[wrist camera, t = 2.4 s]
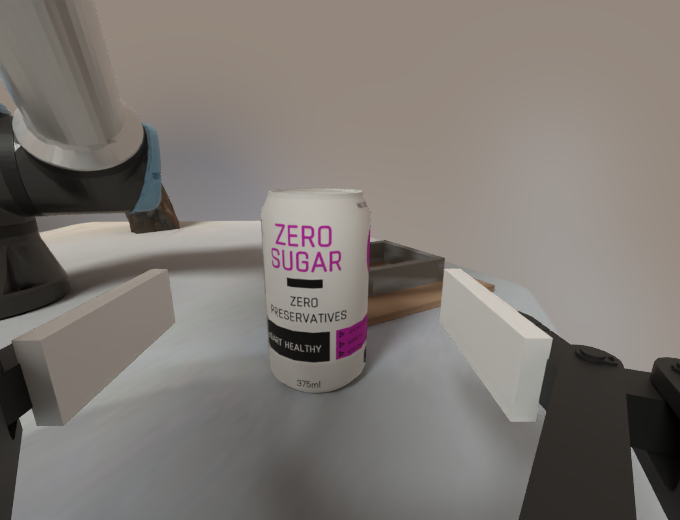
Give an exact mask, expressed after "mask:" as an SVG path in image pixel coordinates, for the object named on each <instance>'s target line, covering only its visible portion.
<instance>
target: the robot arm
mask: <svg viewBox="0 0 680 520" xmlns="http://www.w3.org/2000/svg"><path fill="white" fill-rule="evenodd" d="M0 80H1V82H2V83H3V85H4V86H5V88H6V90H7V91H8V93H9V94H10V96H11V98H12V99H13V101H14V102H15V104H16V106H17V109H16V111H15V113H14V116H11V113H10V112H9V111H8V110H7V108H6V107H5V106H4V105H3V104H1V103H0V319H1V318H5V317H9V316H13V315H17V314H20V313H23V312H27V311H30V310H33V309H36V308H39V307H41V306H44V305H46V304H49V303H51V302H53V301H56V300H58V299H59V298H61V297H63V296H64V295H66V294H67V293H68V292H69V291H70V285H69V281H68V276H67V274H66V272H65V270H64V269H63V268H62V266H61V265H60V263H59V262H58V261H57V259H56V258H55V257H54V255H53V254H52V252H51V251H50V250H49V248H48V247H47V246H46V244H45V243H44V241H43V240H42V239H41V237H40V234H39V231H38V227H37V223H36V218H35V216H57V215H81V214H109V213H126V214H133V213H135V212H142V211H151V210H154V209H156V208H157V207H158V206H159V204H160V201H161V175H160V174H161V160H160V148H159V140H158V135H157V131H156V129H155V128H154V127H152V126H150V125H146V124H145V123H141V121H140V119H139V117H138V115H137V114H136V112H135V111H134V110H133V109H132V108H131V107H130V106H129V105H128V104H126V103H125V102H124V101H122V100H121V99H120V96H119V92H118V88H117V85H116V81H115V77H114V73H113V70H112V66H111V62H110V59H109V55H108V51H107V48H106V44H105V40H104V37H103V33H102V29H101V26H100V22H99V18H98V15H97V11H96V7H95V3H94V0H0ZM439 322H440V323H441V324H442V326H443V327H444V329H445V330H446V332H447V333H448V334H449V336H450V337H451V339H452V340H453V341H454V343H455V344H456V346H457V347H458V348H459V350H460V351H461V353H462V354H463V355H464V357H465V358H466V360H467V361H468V363H469V364H470V365H471V367H472V368H473V370H474V371H475V372H476V374H477V375H478V377H479V378H480V379H481V381H482V382H483V384H484V385H485V386H486V388H487V389H488V391H489V392H490V394H491V395H492V396H493V398H494V399H495V401H496V402H497V403H498V405H499V406H500V408H501V409H502V410H503V412H504V413H505V415H506V416H507V417H508V419H509V420H510V422H536V420H537V415H538V410H539V405H540V404H541V406H542V407H543V408H544V409H545V410H546V411H547V412H546V416H545V420H544V424H543V428H542V432H541V435H540V439H539V443H538V447H537V451H536V455H535V459H534V462H533V466H532V470H531V474H530V478H529V482H528V486H527V489H526V493H525V497H524V501H523V505H522V509H521V513H520V516H519V520H637V519H636V508H635V496H634V484H633V472H632V460H631V448H630V447H632V448H633V450H634V452H635V454H636V456H637V458H638V460H639V462H640V464H641V466H642V468H643V470H644V472H645V474H646V476H647V478H648V480H649V482H650V484H651V486H652V488H653V490H654V492H655V494H656V496H657V498H658V500H659V502H660V504H661V506H662V508H663V510H664V512H665V514H666V516H667V518H668V520H680V359H676V358H668V357H665V358H658V359H657V360H656V361H655V362H654V365H653V369H652V372H651V373H649V372H643V371H636V370H631V369H625V368H624V366H623V364H622V362H621V361H620V360H619V359H617V358H616V357H615V356H613V355H611V354H609V353H607V352H605V351H602V350H599V349H596V348H593V347H589V346H584V345H571V344H569V343H568V342H566V341H565V340H564V339H562V338H561V337H559V336H558V335H557V334H555V333H554V332H552V331H550V329H548V328H547V327H546V326H544V325H542V324H541V323H540V322H539V321H537V320H536V319H534V318H533V317H531V316H529V315H527V314H524V313H522V312H520V311H516V310H514V309H513V308H512V307H510V306H509V305H508V304H506V303H505V302H504V301H502V300H501V299H500V298H498V297H497V296H496V295H494V294H493V293H492V292H490V291H489V290H488V289H487V288H485V287H484V286H483V285H481V284H480V283H479V282H477V281H476V280H475V279H473V278H472V277H471V276H469V275H468V274H467V273H465V272H464V271H463V270H461V269H444V278H443V288H442V299H441V309H440V320H439ZM174 323H175V316H174V309H173V302H172V295H171V288H170V281H169V275H168V269H150V270H148V271H146V272H145V273H143V274H141V275H139V276H137V277H135V278H133V279H131V280H129V281H127V282H125V283H123V284H121V285H119V286H117V287H115V288H113V289H111V290H109V291H107V292H105V293H104V294H102V295H100V296H98V297H96V298H94V299H92V300H90V301H88V302H86V303H84V304H82V305H80V306H78V307H76V308H74V309H72V310H70V311H68V312H66V313H64V314H63V315H61V316H59V317H57V318H55V319H53V320H51V321H49V322H47V323H45V324H43V325H41V326H39V327H37V328H35V329H33V330H31V331H29V332H27V333H25V334H23V335H22V336H20V337H18V338H16V339H14V340H12V344H10V345H8V346H7V347H5V348H3V349H1V350H0V520H11V515H12V507H13V499H14V492H15V484H16V476H17V468H18V461H19V453H20V445H21V437H22V430H23V429H22V426H21V423H20V420H19V417H21V416H22V415H23V414H25V413H26V412H27V411H29V410H30V409H31V408H32V411H33V414H34V417H35V421H36V424H37V426H64V425H65V424H66V423H67V422H68V421H69V420H70V419H71V418H72V417H74V416H75V415H76V414H77V413H78V412H79V411H80V410H81V409H82V408H83V407H84V406H85V405H87V404H88V403H89V402H90V401H91V400H92V399H93V398H94V397H95V396H96V395H97V394H98V393H100V392H101V391H102V390H103V389H104V388H105V387H106V386H107V385H108V384H109V383H110V382H111V381H112V380H114V379H115V378H116V377H117V376H118V375H119V374H120V373H121V372H122V371H123V370H124V369H125V368H127V367H128V366H129V365H130V364H131V363H132V362H133V361H134V360H135V359H136V358H137V357H138V356H140V355H141V354H142V353H143V352H144V351H145V350H146V349H147V348H148V347H149V346H150V345H151V344H153V343H154V342H155V341H156V340H157V339H158V338H159V337H160V336H161V335H162V334H163V333H164V332H166V331H167V330H168V329H169V328H170V327H171V326H172V325H173V324H174Z"/></svg>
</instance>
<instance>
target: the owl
mask: <svg viewBox="0 0 680 520" xmlns="http://www.w3.org/2000/svg"><path fill="white" fill-rule="evenodd" d="M125 214H126V213H125ZM126 217H127V218H128V220H129V223H130V228H131V231H132V232H134V233H136V234H140V233H148V232H156V231H164V230H172V229H179V228H180V227H179V221H178V219H177V217H176V214H175V212H174V209H173V206H172V204H171V202H170V199H169V197H168V195H167V193H166V191H165V189H164V187H163V185H162V183H161V201H160V204H159V206H158V207H157V208H156V209H154V210H151V211H142V212H135V213H133V214H126Z"/></svg>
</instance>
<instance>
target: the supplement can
mask: <svg viewBox="0 0 680 520" xmlns="http://www.w3.org/2000/svg"><path fill="white" fill-rule="evenodd" d="M370 222H371V212H370V210H369V208H368V206H367V204H366V202H365V200H364V198H363V191H360V190H351V189H324V188H299V189H276V190H270V191H268V197H267V199H266V202H265V204H264V206H263V208H262V210H261V228H262V245H263V262H264V279H265V295H266V312H267V329H268V346H269V362H270V367H271V371H272V373H273V375H274V376H275V377H276V378H277V379H278V380H279V381H280V382H282V383H285V384H286V385H287V386H289V387H291V388H293V389H296V390H298V391H302V392H309V393H322V392H331V391H333V390H336V389H339V388H342V387H344V386H346V385H347V384H348V383H350V382H351V381H352V380H354V379H355V378H356V377H357V376H359V375H360V374H361V372H362V370H363V368H364V366H365V364H366V337H367V309H368V280H369V252H370Z"/></svg>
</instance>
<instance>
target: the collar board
mask: <svg viewBox="0 0 680 520" xmlns="http://www.w3.org/2000/svg"><path fill="white" fill-rule="evenodd" d="M444 260H445V258H443V257H439V256H436V255H433V254H429V253H426V252H423V251H419V250H416V249H413V248H410V247H406V246H403V245H400V244H396V243H393V242H389V241H386V240H384V241H376V242H370V252H369V280H368V309H367V326H371V325H375V324H378V323H382V322H385V321H389V320H393V319H396V318H400V317H403V316H407V315H411V314H414V313H418V312H421V311H425V310H429V309H432V308H436V307H439V306H441V299H442V288H443V278H444ZM473 279H474V278H473ZM475 280H476V281H477V282H479V283H480V284H481V285H483V286H484V287H485V288H487V289H488V290H489V291H490V292H493V291H494V285H492V284H489V283H486V282H483V281H480V280H477V279H475Z"/></svg>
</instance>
